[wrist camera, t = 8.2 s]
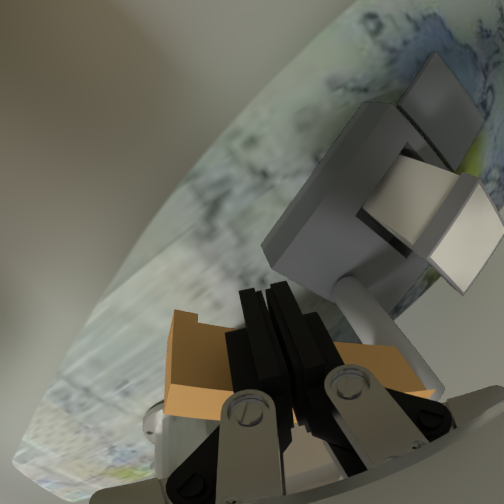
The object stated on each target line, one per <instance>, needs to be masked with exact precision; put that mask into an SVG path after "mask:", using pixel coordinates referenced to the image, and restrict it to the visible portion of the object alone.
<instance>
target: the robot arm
mask: <svg viewBox="0 0 504 504" xmlns="http://www.w3.org/2000/svg"><path fill="white" fill-rule="evenodd" d="M270 287H271V288H270V289H266V290H265V292H266V299H267V305H268V309H267V306H266V303H265V300H264V297H263V294H262V292H261V291H256V292H255V289H254V288H250V289H245V290H240V291H239V295H240V300H241V305H242V310H243V314H244V319H245V324H246V328H243V329H238V330H233V331H228V332H225V340H226V347H227V353H228V360H229V367H230V373H231V380H232V386H233V393H234V394H232V395H231V396H230V397H229V398H227V399H226V401H225V402H224V404H223V405H222V409H221V416H220V420H208V419H199V418H190V417H182V416H174V415H167V414H164V403H161V404H159V405H156V406H155V407H153V408H151V409H150V410H149V411H148V412H147V413H146V415H145V416H144V419H143V432H144V435H145V436H146V438H147V439H148V440H149V441H150V442H152V443H153V444H154V445H155V461H154V462H153V463H152V464H151V465H150V469H151V471H152V472H153V473H154V478H153V479H149V480H145V481H141V482H136V483H131V484H126V485H121V486H116V487H111V488H105V489H101V490H99V491H97V492H95V493H94V494H93V495H92V497H91V499H90V501H89V504H504V387H502V386H498V385H495V386H489V387H486V388H483V389H480V390H477V391H474V392H471V393H467V394H464V395H461V396H457V397H453V398H450V399H447V400H446V402H445V403H439V402H437V401H434V400H430V399H426V398H422V397H418V396H414V395H411V394H407V393H403V392H400V391H396V390H392V389H389V388H385V387H383V386H382V384H381V383H380V382H379V381H378V380H377V378H376V377H375V376H374V375H373V374H372V372H370V371H369V370H368V369H367V368H365V367H363V366H360V365H355V364H346V365H345V363H344V362H343V360H342V358H341V356H340V354H339V352H338V350H337V348H336V346H335V345H334V343H333V341H332V339H331V337H330V335H329V333H328V331H327V330H326V328H325V326H324V324H323V322H322V320H321V318H320V317H319V315H318V313H317V312H313V313H309V314H304V315H303V314H302V312H301V310H300V308H299V306H298V304H297V302H296V300H295V298H294V296H293V294H292V291H291V289H290V287H289V285H288V283H287V281H282V282H278V283H273V284H271V285H270ZM293 411H294V414H295V417H296V420H297V423H298V426H303V425H305V428H306V431H307V433H309V432H311V434H312V436H314V437H316V438H319V439H321V440H322V442H323V444H324V446H325V448H326V450H327V451H328V453H329V455H330V457H331V458H332V460H333V462H334V463H335V465H336V467H337V468H338V470H339V472H340V473H341V475H342V477H343V478H344V479H342V480H339V481H336V482H333V483H330V484H327V485H323V486H320V487H316V488H313V489H309V490H305V491H301V492H297V493H293V494H289V495H287V491H286V478H285V465H284V454H283V453H284V452H285V450H286V449H287V448H288V446H289V445H290V444H291V442H292V433H291V428H294V419H293Z"/></svg>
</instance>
